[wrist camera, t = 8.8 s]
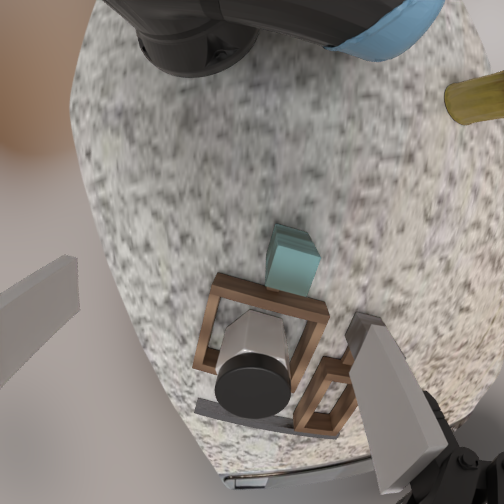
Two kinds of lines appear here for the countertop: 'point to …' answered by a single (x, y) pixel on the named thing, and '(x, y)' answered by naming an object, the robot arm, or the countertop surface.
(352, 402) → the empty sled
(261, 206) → the countertop surface
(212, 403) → the end bar
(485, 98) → the vase
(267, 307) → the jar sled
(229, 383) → the jar
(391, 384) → the robot arm
